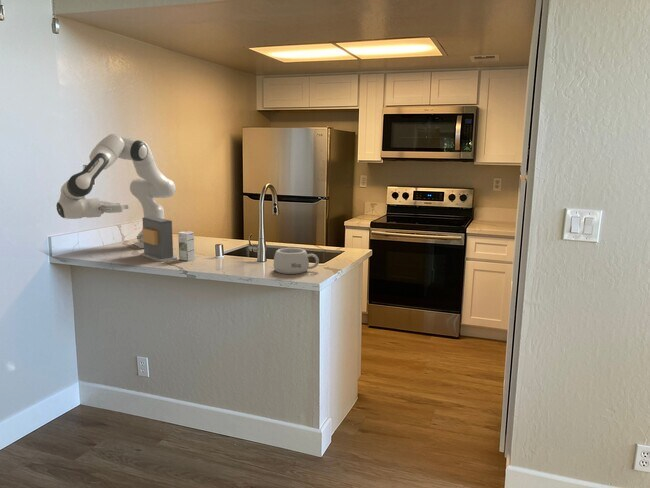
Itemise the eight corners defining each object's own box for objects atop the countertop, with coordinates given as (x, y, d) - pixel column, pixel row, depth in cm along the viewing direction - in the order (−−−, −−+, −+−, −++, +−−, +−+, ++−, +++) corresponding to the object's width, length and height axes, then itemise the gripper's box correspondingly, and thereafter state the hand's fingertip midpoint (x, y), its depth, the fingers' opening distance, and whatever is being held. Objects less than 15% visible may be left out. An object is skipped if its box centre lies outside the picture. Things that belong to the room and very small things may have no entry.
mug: (271, 275, 241) (271, 253, 239) (275, 266, 257) (275, 246, 255) (318, 275, 241) (318, 254, 239) (318, 267, 257) (319, 247, 256)
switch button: (143, 241, 274) (142, 228, 272) (148, 241, 276) (147, 227, 275) (153, 244, 265) (153, 231, 264) (159, 244, 267) (158, 230, 266)
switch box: (140, 255, 279) (138, 217, 276) (156, 252, 285) (154, 216, 282) (160, 261, 264) (158, 222, 260) (176, 259, 270) (175, 220, 266)
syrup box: (195, 259, 271) (194, 231, 268) (187, 261, 266) (186, 233, 263) (186, 258, 273) (185, 230, 271) (178, 260, 268) (177, 232, 265)
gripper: (103, 203, 240) (132, 201, 250) (86, 199, 255) (114, 197, 264) (104, 216, 241) (133, 214, 251) (87, 212, 256) (115, 210, 265)
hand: (123, 205), depth 258 cm, fingers open, 8 cm apart
